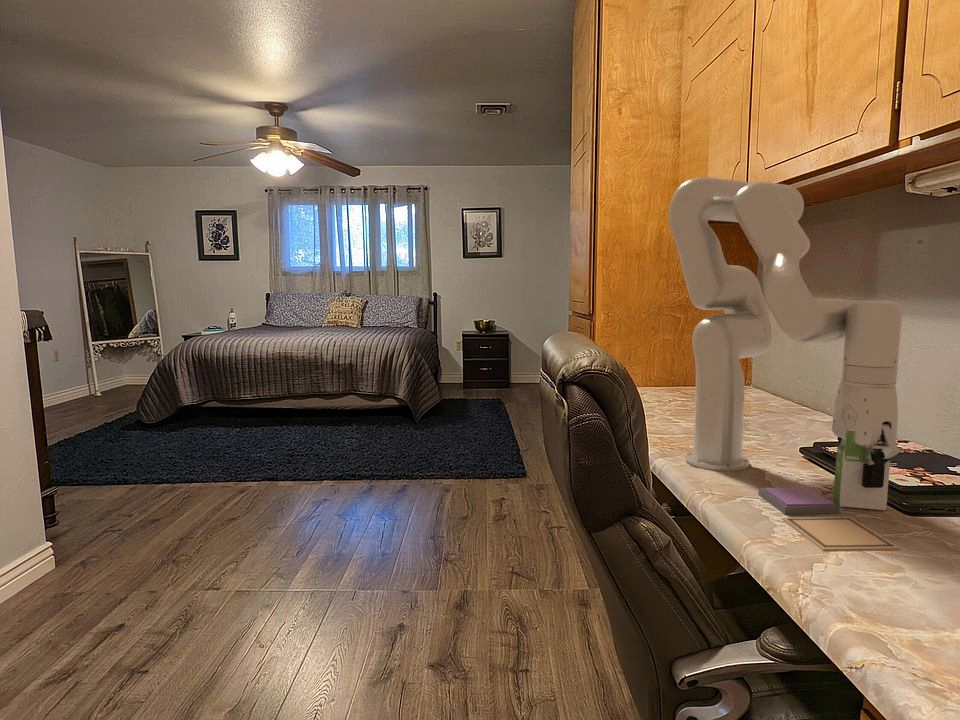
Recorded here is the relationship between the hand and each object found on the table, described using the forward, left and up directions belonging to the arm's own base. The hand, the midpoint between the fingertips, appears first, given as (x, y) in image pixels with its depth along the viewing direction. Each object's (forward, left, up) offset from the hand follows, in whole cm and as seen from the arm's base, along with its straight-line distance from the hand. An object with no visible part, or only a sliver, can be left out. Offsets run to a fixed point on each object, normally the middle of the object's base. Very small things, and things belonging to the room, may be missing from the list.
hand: (860, 480), depth 98 cm
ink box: (0, 0, -5) cm, 5 cm away
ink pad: (-1, -10, -4) cm, 11 cm away
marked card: (+11, -10, -4) cm, 16 cm away
